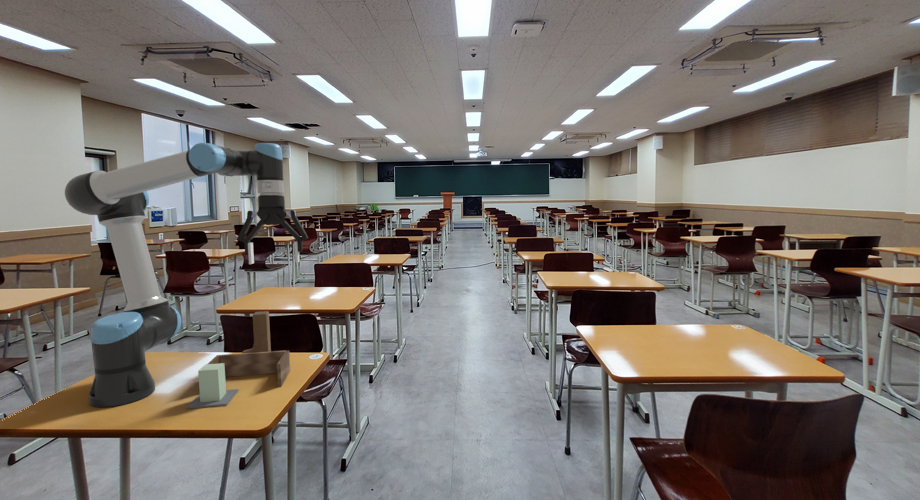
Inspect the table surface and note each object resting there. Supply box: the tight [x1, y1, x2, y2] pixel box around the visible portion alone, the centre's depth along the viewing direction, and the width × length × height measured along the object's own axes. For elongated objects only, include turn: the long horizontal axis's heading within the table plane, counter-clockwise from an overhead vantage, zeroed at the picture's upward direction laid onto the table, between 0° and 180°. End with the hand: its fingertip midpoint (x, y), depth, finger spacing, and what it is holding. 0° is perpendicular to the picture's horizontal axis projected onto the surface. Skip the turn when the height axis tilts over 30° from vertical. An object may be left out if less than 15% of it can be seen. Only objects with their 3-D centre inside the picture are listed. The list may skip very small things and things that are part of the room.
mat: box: [186, 388, 239, 410], centre depth 123 cm, size 10×10×1 cm
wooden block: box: [241, 310, 272, 353], centre depth 150 cm, size 9×4×18 cm, turn 103°
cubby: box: [207, 350, 291, 388], centre depth 135 cm, size 22×13×7 cm, turn 100°
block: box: [197, 363, 227, 402], centre depth 122 cm, size 5×5×9 cm
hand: (274, 263), depth 135 cm, fingers open, 13 cm apart
